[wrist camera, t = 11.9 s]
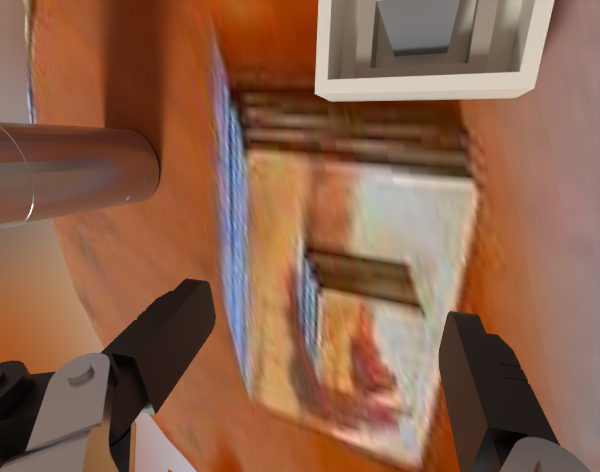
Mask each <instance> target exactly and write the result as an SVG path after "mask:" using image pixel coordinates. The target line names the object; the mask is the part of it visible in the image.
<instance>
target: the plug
mask: <svg viewBox="0 0 600 472" xmlns="http://www.w3.org/2000/svg"><path fill="white" fill-rule="evenodd" d="M459 1H460V0H376V2H377V5H378V8H379V11H380V14H381V17H382V20H383V23H384V26H385V29H386V31H387V34H388V37H389V40H390V43H391V46H392V49H393V52H394V55H395V57H397V56H410V55H423V54H437V53H447V52H448V48H449V43H450V39H451V35H452V31H453V27H454V22H455V18H456V14H457V10H458V5H459Z"/></svg>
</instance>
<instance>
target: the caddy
mask: <svg viewBox="0 0 600 472" xmlns="http://www.w3.org/2000/svg"><path fill="white" fill-rule="evenodd" d="M553 4H554V0H460V1H459V5H458V10H457V14H456V18H455V22H454V27H453V31H452V35H451V39H450V43H449V48H448V52H447V53H437V54H423V55H410V56H397V57H395V55H394V52H393V49H392V46H391V43H390V40H389V37H388V34H387V31H386V29H385V26H384V23H383V20H382V17H381V14H380V11H379V8H378V5H377V2H376V0H319V5H318V30H317V54H316V79H315V94H316V95H318V96H321V97H323V98H325V99H327V100H329V101H392V100H454V99H515V98H517V97H519V96H521V95H523V94H524V93H526V92H528V91H530V90H532V89H534V87H535V83H536V78H537V74H538V70H539V65H540V61H541V57H542V52H543V48H544V44H545V39H546V35H547V31H548V26H549V22H550V18H551V13H552V9H553Z"/></svg>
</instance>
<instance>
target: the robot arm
mask: <svg viewBox="0 0 600 472" xmlns="http://www.w3.org/2000/svg"><path fill="white" fill-rule="evenodd" d="M158 181H159V165H158V160H157V157H156V154H155V152H154V150H153V148H152V146H151V145H150V143H149V142H148V141H147V139H145V138H144V137H143V136H142V135H141V134H139V133H138V132H136V131H133V130H129V129H112V128H98V127H80V126H63V125H46V124H27V123H11V122H0V228H5V227H10V226H15V225H19V224H24V223H30V222H35V221H40V220H46V219H51V218H56V217H61V216H66V215H72V214H77V213H82V212H87V211H92V210H97V209H103V208H108V207H113V206H119V205H124V204H129V203H134V202H139V201H144V200H146V199H148V198H149V197H151V196H152V195H153V193H154V192H155V190H156V188H157V185H158ZM215 319H216V315H215V309H214V304H213V299H212V293H211V288H210V284H209V283H208V282H207V281H202V280H194V279H185V280H184V281H183V282H182V283H181V284H180V285H179V286H178V287H177V288H176V289H175V290H174V291H169V292H168V293H166V294H164V295H162V296H161V297H159V298H157V299H156V300H155V301H154V302H153V303H152V304H151V305H150V306H149V307H148V308H147V309H146V311H143V312H142V313H141V314H140V315H139V316H138V317H137V320H134V321H133V322H132V323H131V324H130V325H129V326H128V327H127V328H126V329H125V330H124V331H123V332H122V333H121V334H120V335H119V336H118V337H117V338H116V339H114V340H113V341H112V342H111V343H110V344H109V345H108V346H107V347H106V348H105V349H104V350H103V351H102V352H101V353H90V354H86V355H83V356H80V357H77V358H75V359H73V360H71V361H69V362H68V363H67V364H65V365H63V366H62V367H61V368H60V369H59V370H58V371H56V372H49V373H39V374H30V373H29V372H28V370H27V368H26V366H25V365H24V363H22V362H20V361H7V362H2V363H0V472H135V447H136V423H135V419H136V418H137V416H138V415H139V413H140V412H145V413H150V414H154V415H156V413H157V412H158V410H159V409H160V407H161V406H162V404H163V403H164V402H165V400H166V399H167V397H168V396H169V394H170V393H171V391H172V390H173V388H174V387H175V385H176V384H177V382H178V381H179V379H180V378H181V376H182V375H183V373H184V372H185V371H186V369H187V368H188V366H189V365H190V363H191V362H192V360H193V359H194V357H195V356H196V354H197V353H198V351H199V350H200V348H201V347H202V345H203V344H204V342H205V341H206V340H207V338H208V337H209V335H210V334H211V332H212V330H213V328H214V325H215ZM439 370H440V375H441V379H442V384H443V389H444V394H445V399H446V404H447V409H448V414H449V419H450V424H451V428H452V433H453V438H454V443H455V448H456V453H457V458H458V463H459V468H460V472H590V470H589V469H588V468H587V467H586V466H585V465H584V464H583V463H582V462H581V461H580V460H579V459H578V458H577V457H575V456H574V455H573V454H572V453H570V452H569V451H567V450H566V449H564V448H563V447H561V446H560V444H559V442H558V441H557V439H556V437H555V435H554V433H553V431H552V429H551V427H550V425H549V422H548V420H547V418H546V416H545V414H544V412H543V410H542V408H541V406H540V404H539V402H538V400H537V398H536V396H535V394H534V392H533V390H532V388H531V386H530V384H528V380H527V378H526V376H525V374H524V372H523V370H521V366H520V364H519V362H518V360H517V358H516V356H515V354H514V351H513V350H512V349H511V348H510V347H509V346H508V345H507V344H506V343H505V342H504V341H503V340H502V339H501V338H500V337H499V336H498V335H495V334H487V333H486V332H485V329H484V327H483V324H482V322H481V320H480V318H479V316H478V315H477V314H469V313H461V312H453V311H450V312H449V313H448V315H447V319H446V323H445V327H444V331H443V335H442V340H441V344H440V348H439Z"/></svg>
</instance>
